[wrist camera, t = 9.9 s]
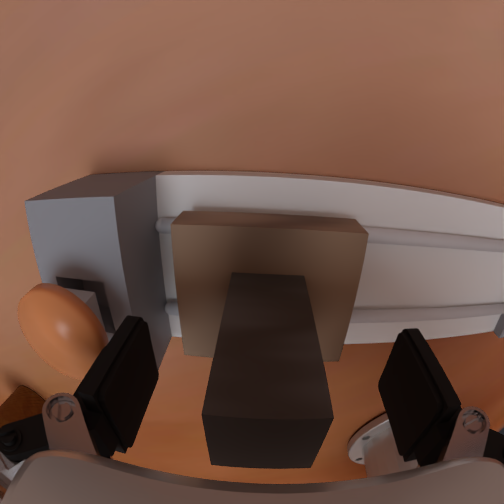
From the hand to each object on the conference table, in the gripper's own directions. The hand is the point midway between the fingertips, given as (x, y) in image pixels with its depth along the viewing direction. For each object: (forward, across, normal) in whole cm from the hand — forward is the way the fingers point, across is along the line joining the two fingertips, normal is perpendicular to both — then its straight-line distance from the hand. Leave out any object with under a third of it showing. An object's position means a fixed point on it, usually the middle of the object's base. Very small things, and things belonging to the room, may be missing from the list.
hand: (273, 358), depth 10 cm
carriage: (+5, 0, 0) cm, 5 cm away
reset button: (+1, +9, 0) cm, 9 cm away
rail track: (+8, -5, 0) cm, 9 cm away
